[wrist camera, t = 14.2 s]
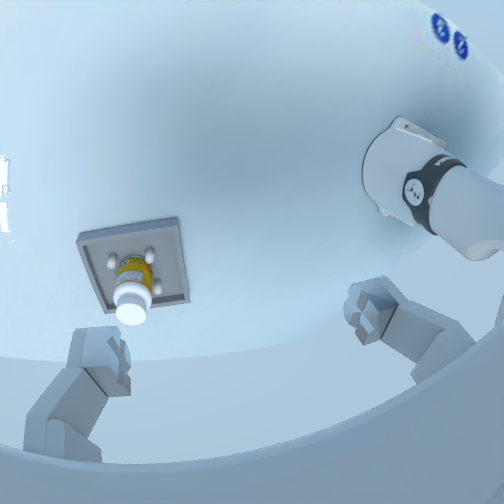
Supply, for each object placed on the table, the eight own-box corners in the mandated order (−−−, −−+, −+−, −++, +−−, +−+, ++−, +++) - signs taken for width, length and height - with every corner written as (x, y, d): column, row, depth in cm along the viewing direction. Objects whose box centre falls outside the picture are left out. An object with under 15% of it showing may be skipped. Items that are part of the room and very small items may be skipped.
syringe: (25, 270, 34) (21, 276, 32) (6, 267, 32) (2, 273, 31) (13, 154, 24) (8, 157, 23) (-8, 155, 22) (-13, 158, 21)
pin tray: (177, 217, 37) (177, 229, 34) (189, 292, 45) (191, 306, 42) (80, 233, 34) (73, 245, 31) (106, 303, 41) (104, 318, 39)
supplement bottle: (151, 284, 41) (151, 330, 33) (119, 281, 39) (112, 327, 31) (154, 255, 38) (152, 301, 30) (119, 252, 36) (109, 297, 28)
